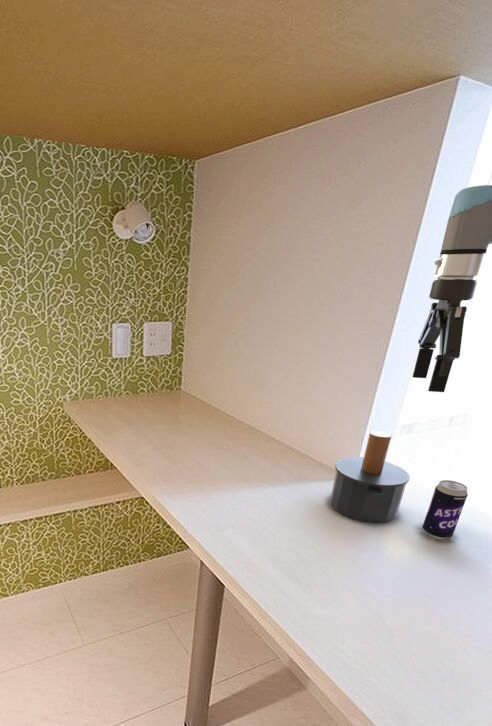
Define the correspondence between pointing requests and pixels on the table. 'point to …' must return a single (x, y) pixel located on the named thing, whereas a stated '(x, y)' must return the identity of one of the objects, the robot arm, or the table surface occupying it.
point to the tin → (365, 501)
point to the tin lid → (373, 465)
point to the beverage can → (445, 509)
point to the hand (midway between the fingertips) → (427, 384)
